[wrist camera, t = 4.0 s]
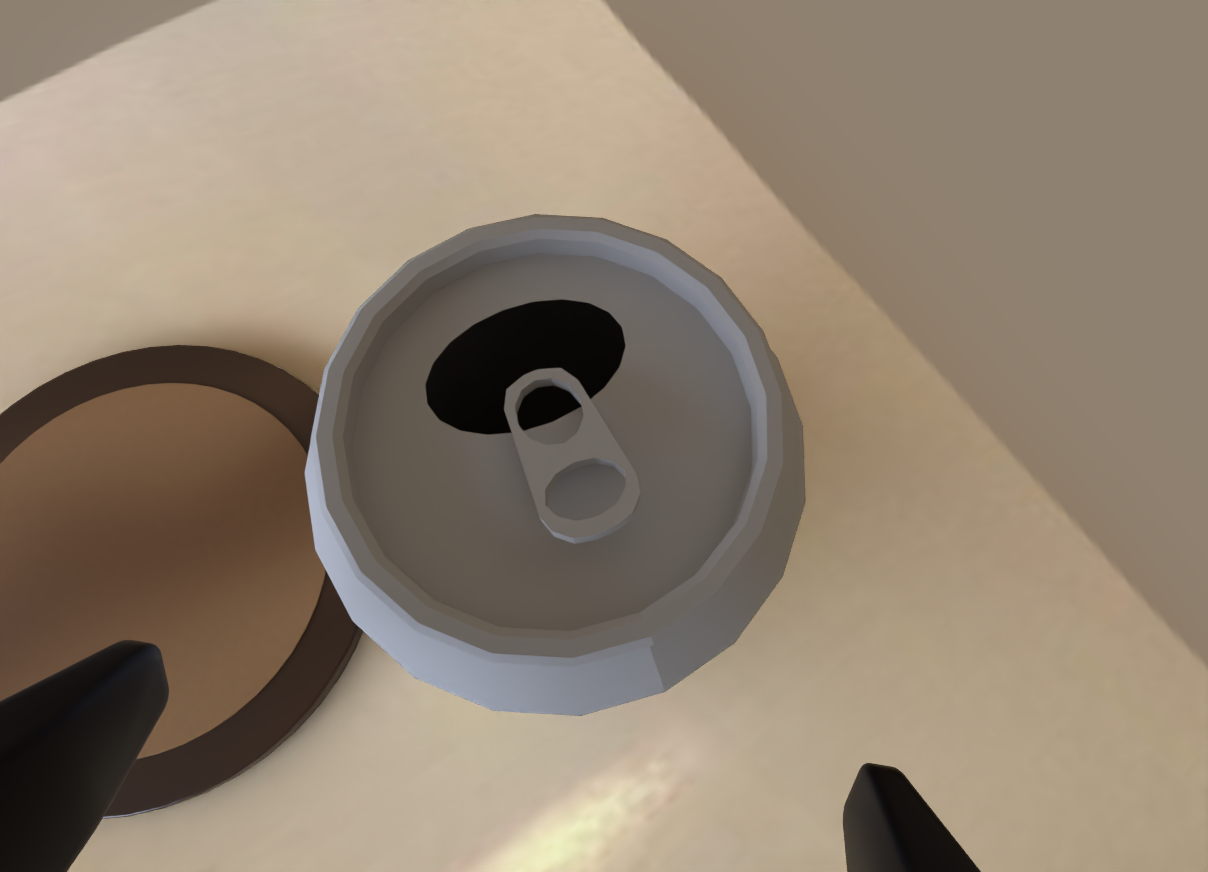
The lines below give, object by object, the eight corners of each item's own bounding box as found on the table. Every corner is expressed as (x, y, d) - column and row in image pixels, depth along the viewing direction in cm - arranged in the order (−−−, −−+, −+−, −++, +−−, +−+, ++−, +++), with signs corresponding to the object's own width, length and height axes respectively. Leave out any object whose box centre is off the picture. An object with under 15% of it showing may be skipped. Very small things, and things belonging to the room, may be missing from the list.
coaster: (476, 555, 20) (472, 551, 20) (85, 938, 17) (65, 949, 17) (202, 276, 23) (191, 265, 22) (-178, 566, 20) (-203, 563, 19)
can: (638, 394, 22) (687, 99, 11) (749, 621, 20) (961, 562, 8) (408, 488, 21) (186, 275, 9) (500, 739, 19) (358, 851, 7)
